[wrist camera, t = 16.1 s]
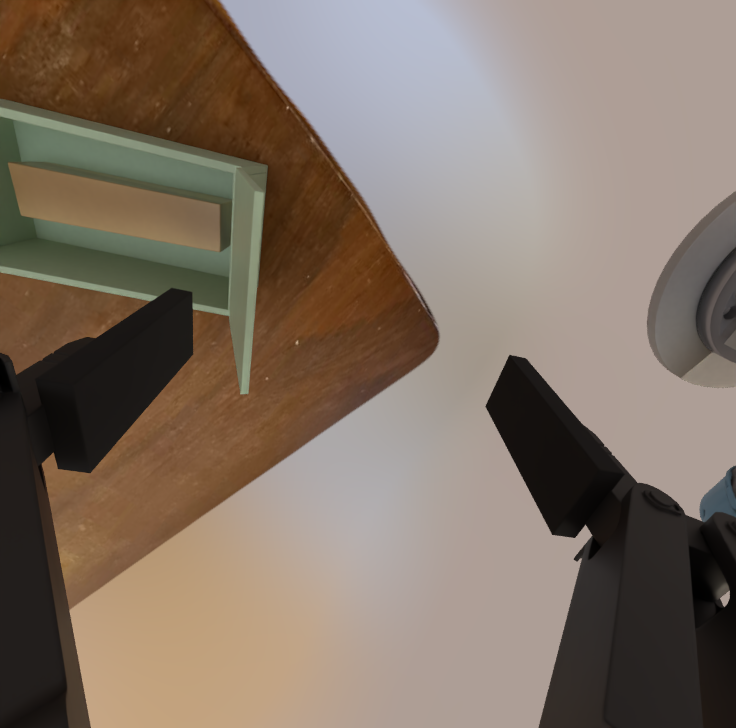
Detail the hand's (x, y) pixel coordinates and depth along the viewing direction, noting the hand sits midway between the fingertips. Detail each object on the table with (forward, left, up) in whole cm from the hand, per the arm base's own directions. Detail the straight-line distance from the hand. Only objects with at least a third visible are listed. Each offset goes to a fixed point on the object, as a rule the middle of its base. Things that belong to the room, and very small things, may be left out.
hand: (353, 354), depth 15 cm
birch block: (+16, +6, -19) cm, 26 cm away
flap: (+6, +2, -7) cm, 9 cm away
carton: (+16, +6, -19) cm, 26 cm away
